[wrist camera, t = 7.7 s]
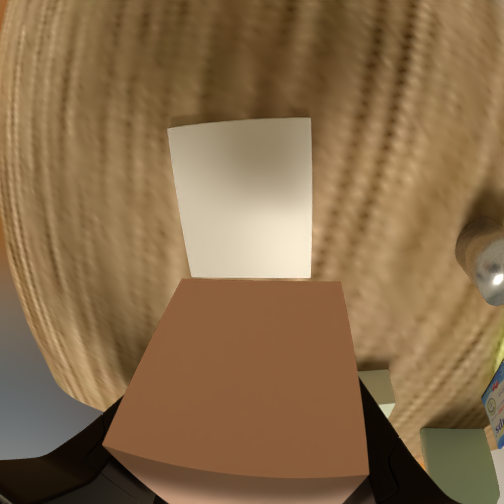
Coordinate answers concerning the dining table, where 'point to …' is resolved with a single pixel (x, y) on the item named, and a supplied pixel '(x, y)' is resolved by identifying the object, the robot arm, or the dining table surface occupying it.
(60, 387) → the dining table surface
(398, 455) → the robot arm
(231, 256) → the grey mat
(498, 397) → the medicine box
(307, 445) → the coral block
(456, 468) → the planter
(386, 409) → the sage block
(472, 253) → the grey metal cylinder
